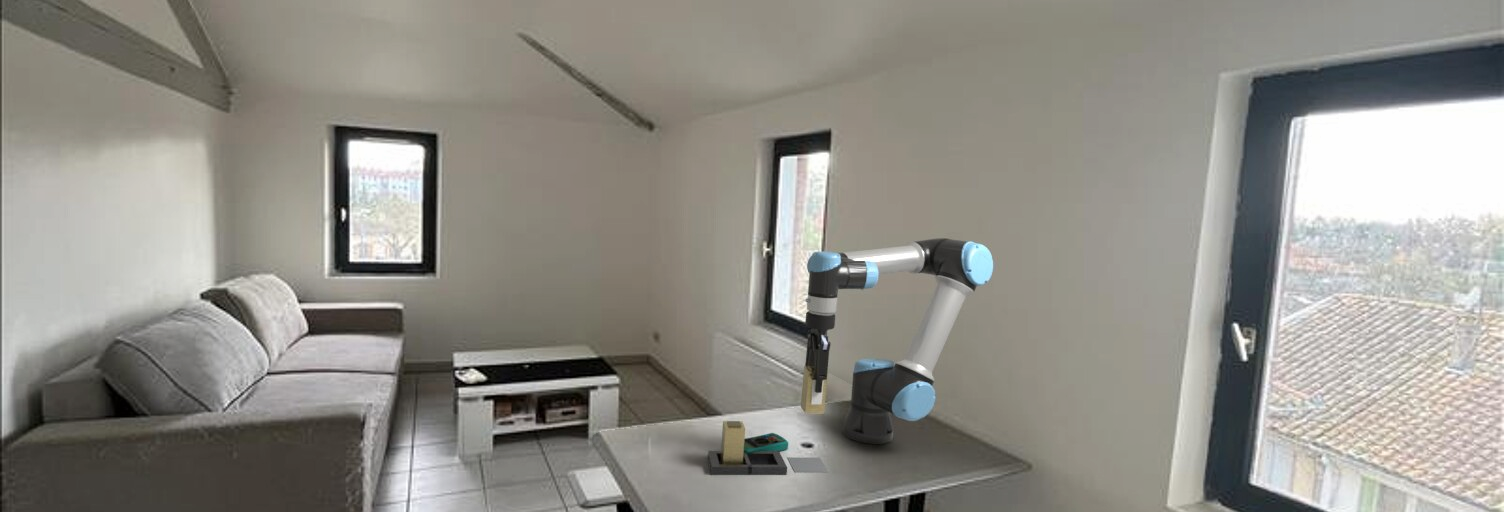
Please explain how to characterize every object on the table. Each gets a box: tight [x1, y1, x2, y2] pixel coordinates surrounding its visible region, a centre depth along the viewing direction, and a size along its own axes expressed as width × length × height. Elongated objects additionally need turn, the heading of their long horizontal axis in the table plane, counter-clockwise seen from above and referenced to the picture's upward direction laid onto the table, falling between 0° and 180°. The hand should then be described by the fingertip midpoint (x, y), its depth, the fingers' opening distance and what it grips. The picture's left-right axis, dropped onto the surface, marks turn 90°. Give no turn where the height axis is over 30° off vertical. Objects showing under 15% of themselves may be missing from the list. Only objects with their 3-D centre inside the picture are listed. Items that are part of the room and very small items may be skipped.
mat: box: [786, 456, 830, 474], centre depth 178 cm, size 9×9×1 cm
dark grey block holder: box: [707, 450, 788, 476], centre depth 174 cm, size 19×10×2 cm, turn 100°
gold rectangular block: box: [720, 420, 746, 465], centre depth 173 cm, size 5×5×11 cm
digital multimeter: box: [744, 432, 789, 452], centre depth 185 cm, size 7×15×3 cm, turn 127°
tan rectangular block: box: [800, 365, 829, 415], centre depth 176 cm, size 5×5×11 cm
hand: (813, 400), depth 176 cm, fingers closed on tan rectangular block, 5 cm apart
